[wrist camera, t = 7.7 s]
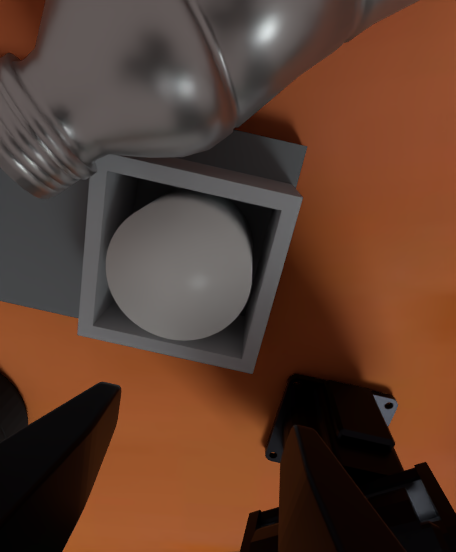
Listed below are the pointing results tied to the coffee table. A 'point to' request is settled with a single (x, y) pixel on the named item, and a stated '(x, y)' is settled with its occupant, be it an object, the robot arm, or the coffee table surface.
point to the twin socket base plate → (123, 203)
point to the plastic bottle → (156, 77)
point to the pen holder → (11, 410)
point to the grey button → (182, 265)
